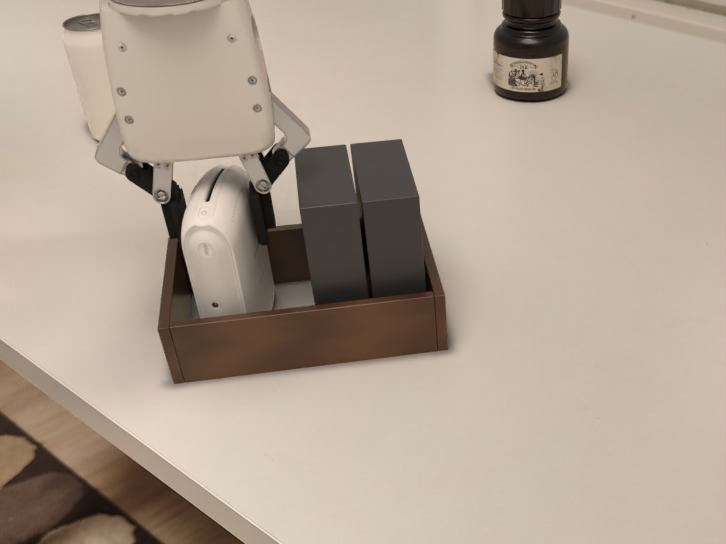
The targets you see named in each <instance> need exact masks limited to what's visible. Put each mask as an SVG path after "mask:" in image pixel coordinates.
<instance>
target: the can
mask: <svg viewBox="0 0 726 544" xmlns="http://www.w3.org/2000/svg"><path fill="white" fill-rule="evenodd" d="M61 24H62V28H63V37H62V42H63V43H62V44H63V47H64V50H65V54H66V56H67V60H68V64H69V68H70V71H71V73H72V77H73V80H74V83H75V87H76V90H77V92H78V96H79V99H80V103H81V106H82V110H83V113H84V116H85V119H86V122H87V126H88V129H89V131H90V135H91V137H92V138H93V139H95V140H96V141H97V142H98V143H99V142H100V140H101V138H102V136H103V134H104V132H105V130H106V128H107V126H108V124H109V122H110V120H111V118H112V116H113V114H114V112H115V107H114V102H113V97H112V92H111V87H110V82H109V77H108V72H107V66H106V61H105V55H104V48H103V41H102V33H101V23H100V12H90V13H83V14H79V15H74V16H71V17H69V18H67V19H65V20H64V21H63V22H62V23H61ZM123 144H124V142H123Z"/></svg>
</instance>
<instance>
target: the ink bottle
mask: <svg viewBox="0 0 726 544" xmlns="http://www.w3.org/2000/svg"><path fill="white" fill-rule="evenodd" d="M561 9H562V0H501V10H502V11H501V14H502V17H503V18H504V19H503V20H502V22H501V23H500V24H499V25H498V26H497V27H496V28H495V30H494V32H493V38H492V39H493V40H492V42H493V44H492V45H493V48H492V80H493V88H494V90H495V92H496V93H497V94H499V95H500V96H502V97H505V98H508V99H513V100H518V101H519V100H520V101H545V100H549V99H552V98H555V97H558V96H560V95H561V94H563V92H565V90H566V88H567V87H568V73H569V50H570V49H569V48H570V32H569V30H568V28H567V26H566V25H565V24H564V23H562V21H561V19H560V16H561V13H562V11H561Z"/></svg>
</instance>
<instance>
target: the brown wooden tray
mask: <svg viewBox="0 0 726 544" xmlns="http://www.w3.org/2000/svg"><path fill="white" fill-rule="evenodd" d="M421 227H422V241H423V256H424V270H425V284H426V292H422V293H414V294H405V295H397V296H388V297H380V298H371V299H370V298H369V299H363V300H354V301H346V302H337V303H329V304H320V305H315V304H312V305H305V306H303V305H302V306H296V307H286V308H279V309H272V310H269V311H260V312H252V313H243V314H235V315H226V316H218V317H209V318H201V319H200V318H194V319H190V316H191V305H192V294H194V292H193V289H192V285H191V281H190V277H189V273H188V269H187V265H186V262H185V257H184V254H182V252H181V248H180V244H179V241H178V238H176V239H170V237H167V245H166V253H165V263H164V271H163V279H162V288H161V295H160V296H161V297H160V303H159V304H160V305H159V311H158V312H159V313H158V321H157V329H156V331H157V332H158V337H159V339H160V342H161V343H160V344H161V345H162V346H161V347H162V350H163V353H164V356H165V359H166V363H167V366H168V370H169V373H170V377H171V380H172V383H173V385H178V384H185V383H186V384H187V383H193V382H194V383H195V382H203V381H210V380H219V379H227V378H234V377H236V378H237V377H243V376H250V375H259V374H267V373H274V372H282V371H283V372H285V371H290V370H300V369H305V368H306V369H309V368H315V367H322V366H324V367H325V366H330V365H339V364H346V363H355V362H363V361H370V360H379V359H380V360H381V359H386V358H387V359H388V358H396V357H402V356H403V357H404V356H410V355H412V356H413V355H419V354H426V353H436V352H442V351H443V352H444V351H448V350H449V340H448V338H449V337H448V323H447V321H448V320H447V304H446V294H445V291H444V287H443V284H442V280H441V277H440V274H439V270H438V267H437V264H436V260H435V257H434V254H433V250H432V248H431V244H430V240H429V237H428V234H427V230H426V228H425V223H424V220H423V217H422V216H421ZM268 241H269V245H267V249H268V254H269V259H270V265H271V270H272V276H273V281H274V285H277V284H285V283H292V282H293V283H294V282H302V281H303V282H304V281H311V278H310V272H309V266H308V259H307V253H306V247H305V241H304V235H303V229H302V223H294V224H293V223H292V224H283V225H276V228H271V229H268Z"/></svg>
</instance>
